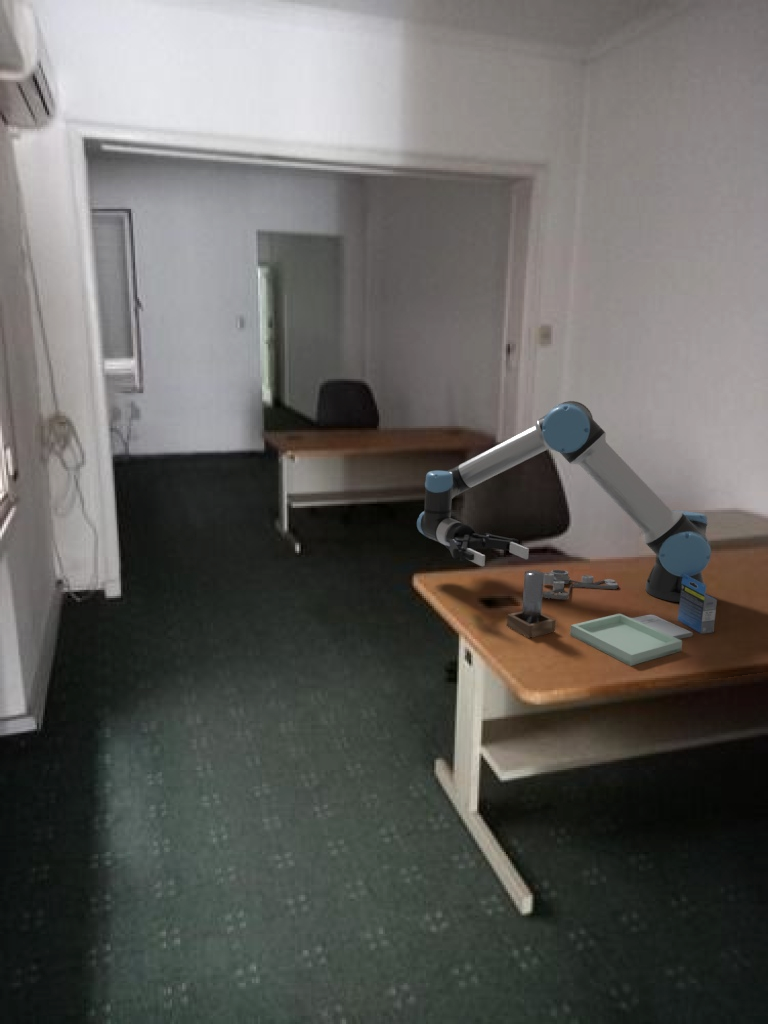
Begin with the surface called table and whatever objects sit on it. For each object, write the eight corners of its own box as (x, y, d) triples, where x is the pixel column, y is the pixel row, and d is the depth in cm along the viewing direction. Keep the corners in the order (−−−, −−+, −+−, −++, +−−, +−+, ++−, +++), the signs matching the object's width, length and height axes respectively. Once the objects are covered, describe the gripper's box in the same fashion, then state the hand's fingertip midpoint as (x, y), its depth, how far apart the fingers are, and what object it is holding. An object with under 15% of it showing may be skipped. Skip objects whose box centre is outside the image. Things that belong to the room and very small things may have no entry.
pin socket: (532, 620, 172) (533, 608, 171) (554, 631, 165) (555, 620, 164) (506, 626, 168) (507, 614, 167) (528, 638, 161) (529, 626, 160)
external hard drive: (666, 644, 161) (627, 624, 172) (692, 638, 164) (652, 619, 175) (667, 637, 160) (627, 618, 171) (693, 631, 164) (653, 613, 175)
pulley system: (516, 591, 195) (555, 605, 182) (516, 574, 194) (556, 587, 181) (584, 578, 209) (625, 590, 197) (585, 563, 208) (626, 574, 196)
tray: (618, 622, 171) (619, 613, 170) (681, 651, 156) (682, 640, 155) (570, 635, 163) (570, 625, 163) (630, 666, 148) (631, 655, 147)
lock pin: (531, 624, 169) (535, 569, 166) (543, 630, 166) (547, 574, 162) (517, 627, 167) (520, 571, 164) (529, 634, 164) (533, 577, 160)
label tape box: (714, 633, 166) (721, 584, 163) (699, 634, 165) (706, 585, 162) (690, 619, 174) (696, 572, 171) (675, 620, 173) (681, 573, 170)
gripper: (492, 543, 196) (543, 565, 178) (416, 554, 184) (463, 579, 166) (494, 517, 194) (545, 537, 176) (417, 526, 182) (465, 548, 164)
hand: (506, 557), depth 171 cm, fingers open, 13 cm apart
